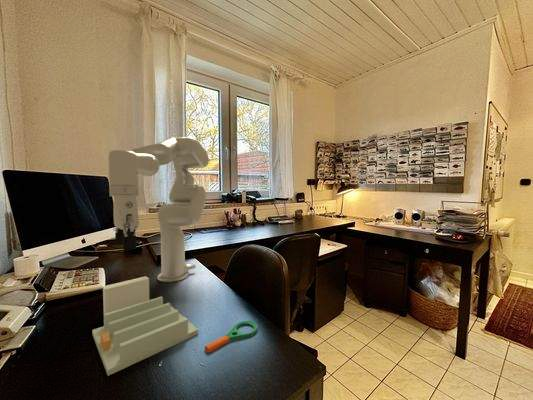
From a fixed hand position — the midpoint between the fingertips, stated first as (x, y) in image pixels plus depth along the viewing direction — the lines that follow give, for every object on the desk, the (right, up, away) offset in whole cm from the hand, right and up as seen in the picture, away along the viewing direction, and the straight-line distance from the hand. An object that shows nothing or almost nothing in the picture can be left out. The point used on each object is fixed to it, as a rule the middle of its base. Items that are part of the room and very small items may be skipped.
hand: (125, 246), depth 73 cm
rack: (+12, -21, -11) cm, 26 cm away
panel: (0, -20, +1) cm, 20 cm away
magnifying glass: (+35, -22, -12) cm, 43 cm away
